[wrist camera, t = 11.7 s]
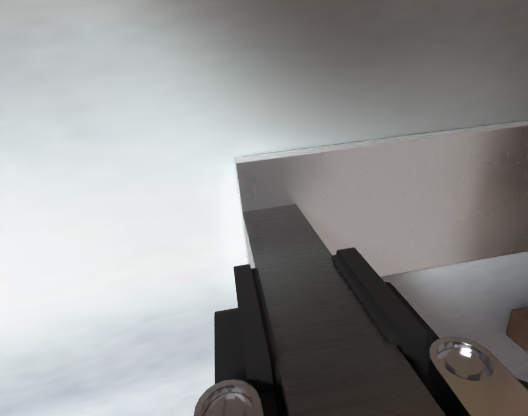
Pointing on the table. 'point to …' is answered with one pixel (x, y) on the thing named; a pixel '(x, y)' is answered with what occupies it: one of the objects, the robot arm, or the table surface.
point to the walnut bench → (519, 327)
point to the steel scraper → (372, 249)
